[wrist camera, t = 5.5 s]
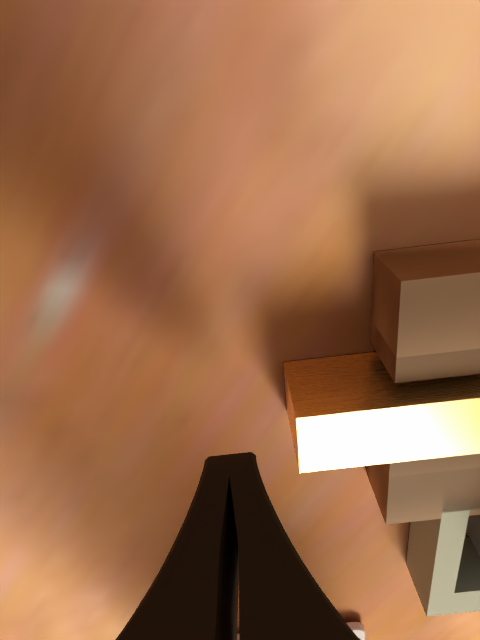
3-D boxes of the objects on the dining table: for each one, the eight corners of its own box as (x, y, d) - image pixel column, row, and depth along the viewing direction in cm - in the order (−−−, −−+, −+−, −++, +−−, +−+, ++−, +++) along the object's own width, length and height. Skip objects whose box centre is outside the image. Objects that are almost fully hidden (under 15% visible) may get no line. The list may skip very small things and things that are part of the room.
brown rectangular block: (474, 390, 17) (523, 448, 14) (287, 411, 17) (299, 472, 14) (483, 339, 16) (537, 391, 13) (283, 362, 16) (295, 418, 13)
